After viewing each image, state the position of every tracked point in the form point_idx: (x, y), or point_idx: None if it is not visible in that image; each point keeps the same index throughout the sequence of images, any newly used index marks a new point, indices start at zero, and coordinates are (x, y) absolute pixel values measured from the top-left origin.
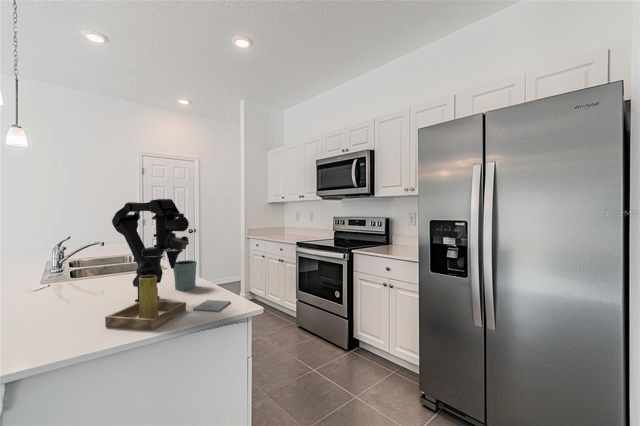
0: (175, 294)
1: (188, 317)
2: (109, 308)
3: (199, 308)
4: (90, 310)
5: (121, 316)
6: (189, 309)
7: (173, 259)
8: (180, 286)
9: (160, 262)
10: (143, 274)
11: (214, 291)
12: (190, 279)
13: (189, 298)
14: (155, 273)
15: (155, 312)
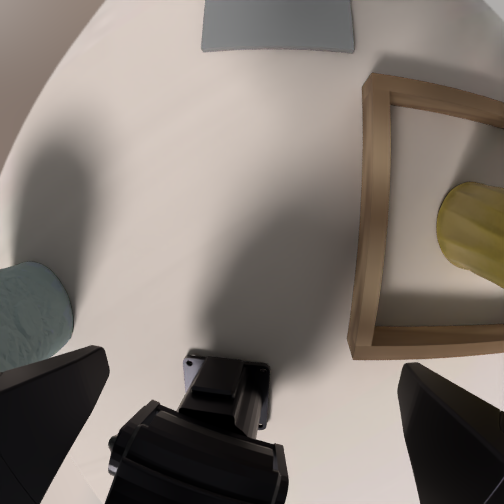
0: (123, 302)
1: (436, 41)
2: (353, 454)
3: (344, 21)
4: (369, 483)
5: (492, 330)
6: (344, 76)
7: (27, 410)
8: (60, 316)
9: (488, 444)
10: (277, 501)
11: (53, 123)
12: (13, 281)
13: (166, 181)
14: (201, 457)
15: (490, 187)
